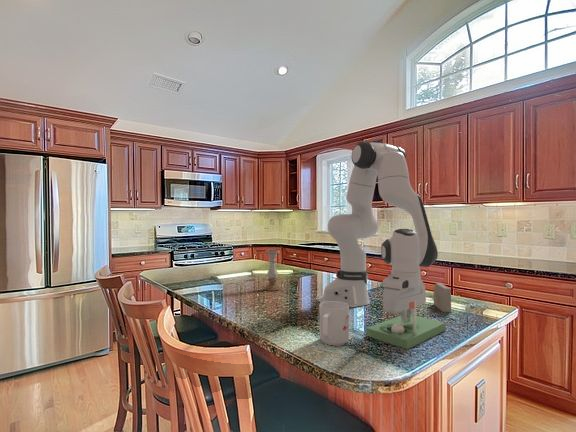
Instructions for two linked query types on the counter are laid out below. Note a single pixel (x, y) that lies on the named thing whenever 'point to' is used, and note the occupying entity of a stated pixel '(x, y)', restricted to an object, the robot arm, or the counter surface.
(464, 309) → the counter surface
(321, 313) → the mug
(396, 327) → the ball
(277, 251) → the candle holder
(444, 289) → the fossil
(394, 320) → the green
